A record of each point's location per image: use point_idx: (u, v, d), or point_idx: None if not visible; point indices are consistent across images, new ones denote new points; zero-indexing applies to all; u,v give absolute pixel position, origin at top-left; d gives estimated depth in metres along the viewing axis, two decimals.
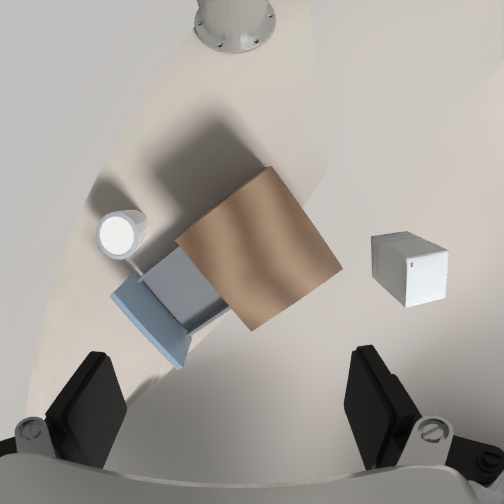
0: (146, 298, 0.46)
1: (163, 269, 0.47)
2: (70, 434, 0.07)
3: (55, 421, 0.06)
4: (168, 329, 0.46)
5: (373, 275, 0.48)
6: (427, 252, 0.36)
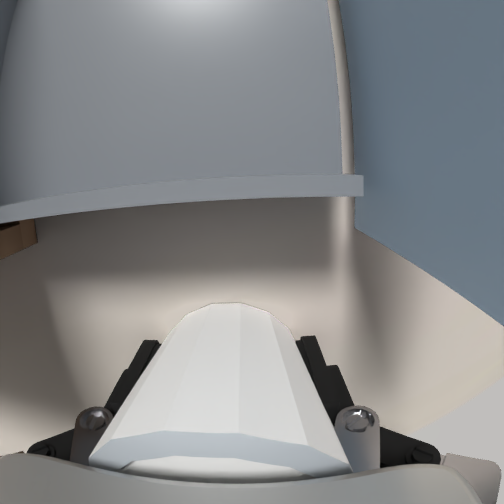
0: (384, 71, 0.06)
1: (199, 147, 0.08)
2: None
3: None
4: None
5: None
6: None
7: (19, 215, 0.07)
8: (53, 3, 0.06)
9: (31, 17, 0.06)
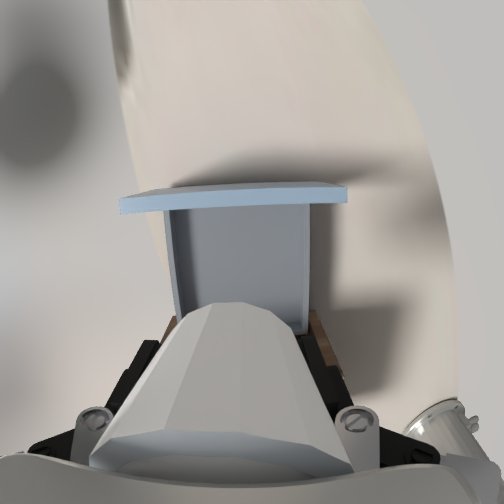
0: None
1: (291, 244, 0.28)
2: None
3: None
4: None
5: None
6: None
7: (307, 304, 0.28)
8: None
9: None
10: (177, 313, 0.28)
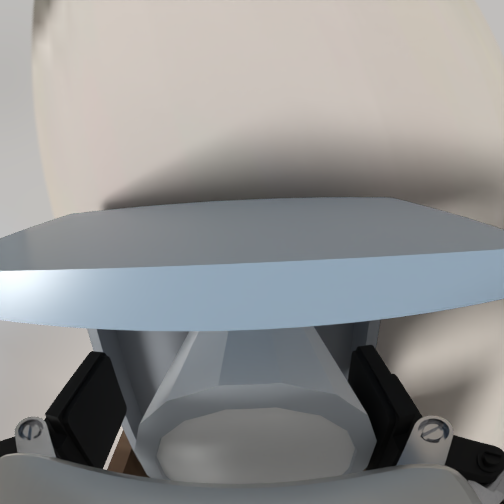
0: None
1: (336, 323, 0.13)
2: (70, 434, 0.07)
3: (55, 421, 0.06)
4: None
5: None
6: None
7: None
8: None
9: None
10: (127, 433, 0.13)
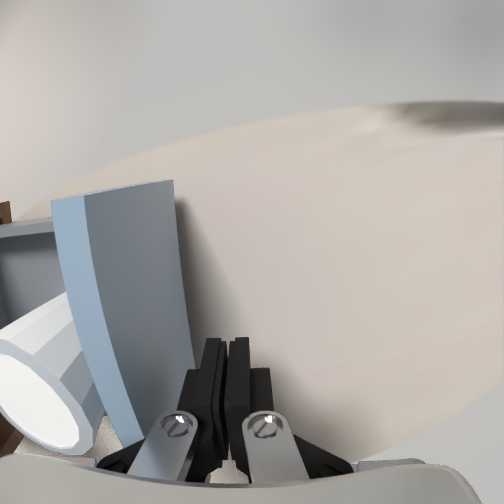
0: None
1: None
2: (214, 422, 0.08)
3: (204, 410, 0.08)
4: None
5: None
6: None
7: None
8: (20, 288, 0.15)
9: (10, 290, 0.15)
10: None
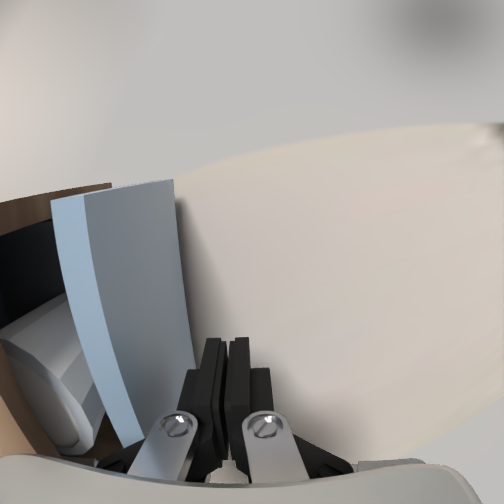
0: None
1: None
2: (214, 422, 0.08)
3: (204, 410, 0.08)
4: None
5: None
6: None
7: None
8: (20, 288, 0.15)
9: (10, 290, 0.15)
10: None
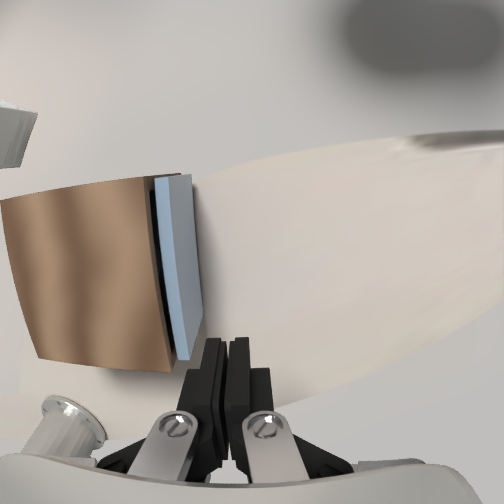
0: None
1: None
2: (214, 422, 0.08)
3: (204, 410, 0.08)
4: None
5: (33, 117, 0.27)
6: None
7: None
8: None
9: None
10: None
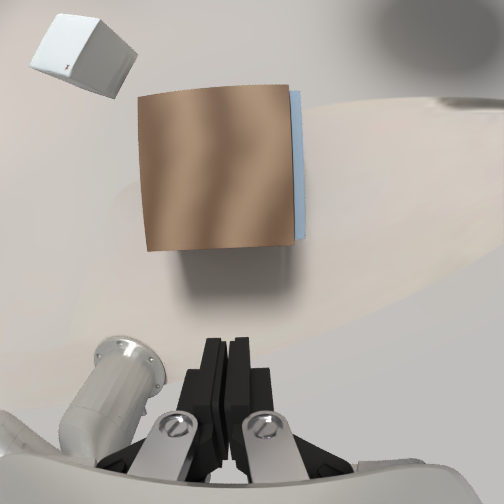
0: None
1: None
2: (214, 422, 0.08)
3: (204, 410, 0.08)
4: None
5: (134, 56, 0.33)
6: (49, 72, 0.23)
7: None
8: None
9: None
10: None
